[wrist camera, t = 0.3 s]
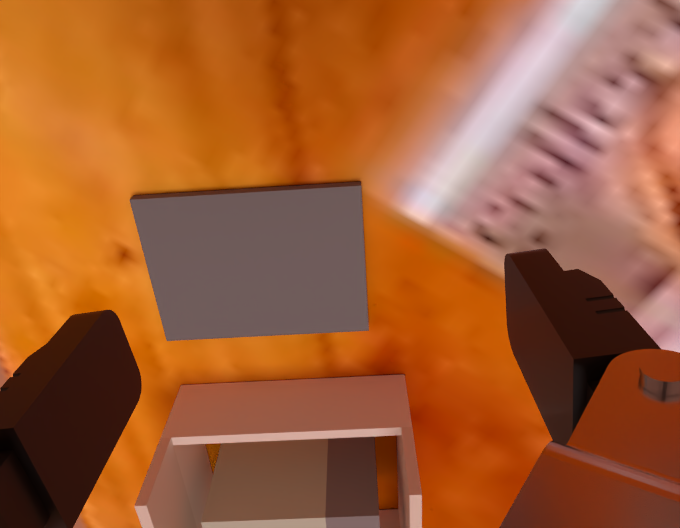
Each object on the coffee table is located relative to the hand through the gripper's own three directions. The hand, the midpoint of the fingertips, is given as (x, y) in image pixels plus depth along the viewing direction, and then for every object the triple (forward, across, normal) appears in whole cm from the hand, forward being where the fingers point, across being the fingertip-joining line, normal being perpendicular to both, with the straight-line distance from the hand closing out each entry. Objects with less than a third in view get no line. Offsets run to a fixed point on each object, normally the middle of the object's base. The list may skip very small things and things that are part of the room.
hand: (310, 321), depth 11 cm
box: (+19, +6, +22) cm, 30 cm away
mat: (+18, +6, +7) cm, 20 cm away
